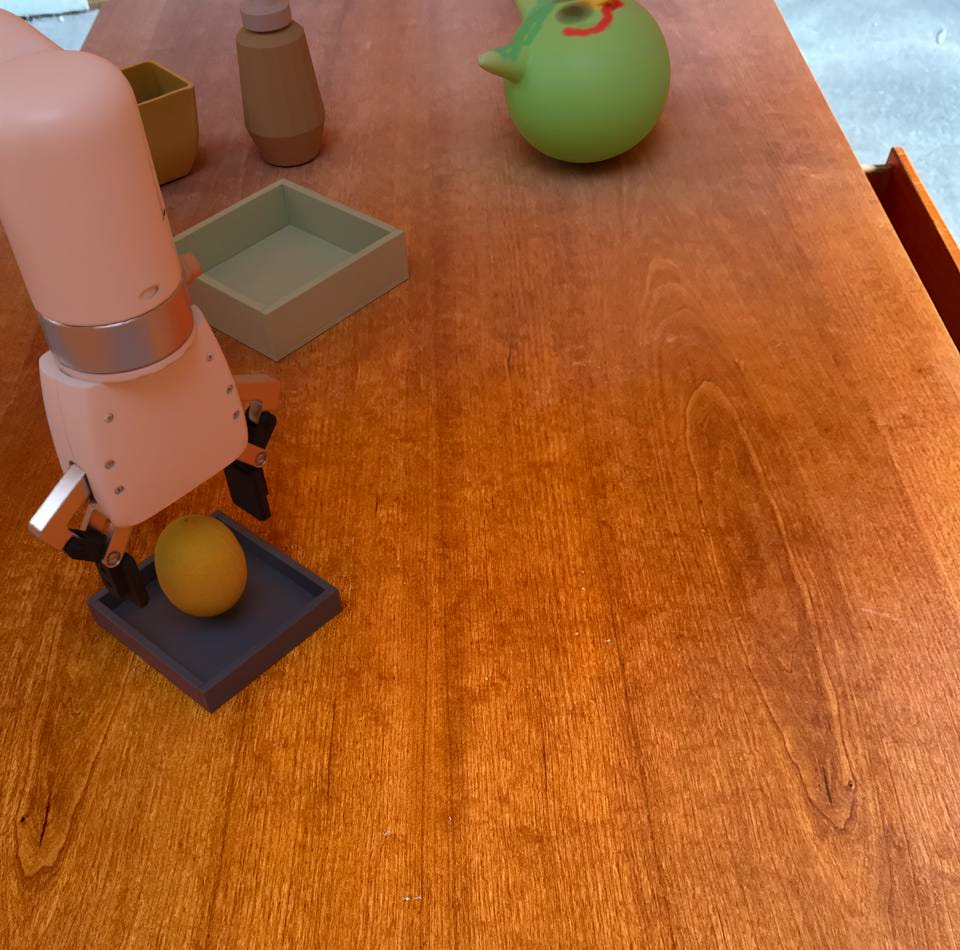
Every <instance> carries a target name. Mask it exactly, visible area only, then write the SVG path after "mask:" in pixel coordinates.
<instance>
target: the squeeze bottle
mask: <svg viewBox="0 0 960 950" xmlns="http://www.w3.org/2000/svg"><path fill="white" fill-rule="evenodd" d="M239 13H240V18H241V23H242V27H241V28H240V29H239V30H238V31H237V33H236V34H235V46H236V56H237V64H238V75H239V83H240V93H241V100H242V101H241V102H242V110H243V121H244V127H245V129H246V131H247V132H248V134H249V136H250V137H251V139H252V141H253V142H254V145H255V147H256V148H257V150H258V152H259V154H260V155H261V157H262V159H263V160H264V161H265V162H266V163H268V164H271V165H273V166H278V167H291V166H298V165H302V164H304V163H309V161H311V160H313V159H315V158H316V157H317V156H318V155H319V154H320V152H321V148H322V147H321V146H322V140H323V134H324V128H325V127H324V126H325V121H326V109H325V106H324V102H323V98H322V95H321V91H320V87H319V83H318V79H317V75H316V71H315V67H314V63H313V59H312V55H311V51H310V47H309V45H308V40H307V36H306V32H305V28H304V26H302V25H301V24H299V22H297V21H296V20H294V19H293V17H292V10H291V4H290V0H244V1H243V2H242V3H241V4H240V5H239Z"/></svg>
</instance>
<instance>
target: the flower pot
mask: <svg viewBox="0 0 960 950" xmlns="http://www.w3.org/2000/svg"><path fill="white" fill-rule="evenodd" d="M119 69H120V70H121V72H122V73H123V74H124V76H125V77H126V79H127V80H128V81H129V83H130V85H131V87H132V89H133V92H134V95H135V98H136V101H137V105H138V108H139V112H140V116H141V119H142V123H143V127H144V131H145V134H146V138H147V142H148V145H149V149H150V153H151V157H152V160H153V164H154V168H155V172H156V175H157V179H158V183H159V186H162V185H164V184H166V183H168V182H171V181H174V180H177V179H180V178H182V177H184V176H187V175H189V173H190V172H191V170H192V168H193V166H194V163H195V160H196V157H197V154H198V149H199V148H198V147H199V140H200V130H199V117H198V108H197V107H198V106H197V97H196V89H195V88H196V87H195V86H196V85H195V84H194V82H192V81H190V80H188V79H187V78H185V77H183V76H181V75H180V74H178V73H177V72H175V71H173V70H171V69H169V68H168V67H167V66H165V65H163V64H161V63H160V62H158V61H156V60H155V59H152V58H149V59H145V60H141V61H139V62H135V63H131V64H129V65H127V66H123V67H120V68H119Z"/></svg>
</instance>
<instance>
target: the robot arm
mask: <svg viewBox="0 0 960 950" xmlns="http://www.w3.org/2000/svg"><path fill="white" fill-rule="evenodd" d="M160 186H161V185H159V183H158V179H157V175H156V172H155V168H154V164H153V160H152V157H151V153H150V149H149V145H148V142H147V138H146V134H145V131H144V127H143V123H142V119H141V116H140V112H139V108H138V105H137V101H136V98H135V95H134V92H133V89H132V87H131V85H130V83H129V81H128V80H127V79H126V77H125V76H124V74H123V73H122V72H121V70H120V68H119V67H117V65H116V64H114V63H113V62H111V61H110V60H109V59H106V58H104V57H102V56H100V55H97V54H95V53H92V52H89V51H88V52H87V51H82V50H75V49H64V48H62V46H60V45H58V44H57V43H56V42H54V41H53V40H52V39H50V38H49V37H48V36H46V35H45V34H43V33H42V32H41V31H40V30H39V29H37V28H36V27H35V26H33V25H32V24H30V23H29V22H28V21H26V20H25V19H23V18H22V17H20V16H19V15H17V14H16V13H13V12H11V11H8V10H6V9H4V8H1V7H0V222H1V224H2V228H3V230H4V232H5V235H6V237H7V240H8V243H9V245H10V248H11V251H12V253H13V257H14V258H15V262H16V264H17V267H18V270H19V272H20V274H21V277H22V280H23V282H24V283H23V284H24V285H25V288H26V290H27V293H28V295H29V298H30V300H31V303H32V306H33V309H34V312H35V315H36V317H37V319H38V322H39V324H40V327H41V330H42V332H43V335H44V337H45V340H46V343H47V345H48V348H49V350H47V351H46V352H44V353H43V354H42V355H40V356H39V358H38V359H39V360H38V370H39V380H40V387H41V388H40V389H41V393H42V400H43V406H44V410H45V415H46V420H47V423H48V424H47V425H48V427H49V431H50V434H51V435H50V436H51V438H52V442H53V446H54V449H55V453H56V455H57V459H58V461H59V465H60V468H61V471H62V474H63V475H62V476H61V478H60V479H59V481H58V482H57V483H56V485H55V486H54V487H53V489H51V491H50V492H49V494H48V495H47V497H46V498H45V499H44V500H43V502H42V504H41V505H40V506H39V507H38V508H37V510H36V511H35V513H34V514H33V516H32V517H31V518H30V520H29V521H28V524H27V530H28V531H29V532H30V533H31V534H33V536H35V537H36V538H37V539H39V540H40V541H41V542H43V543H45V544H46V545H48V546H50V547H51V548H53V549H55V550H57V551H59V552H60V553H63V554H64V555H66V556H68V557H69V558H70V559H71V560H76V561H83V562H88V563H89V562H90V563H94V564H95V567H96V569H97V571H98V574H99V576H100V579H101V581H102V583H103V585H104V587H106V588H107V590H108V591H109V592H110V593H111V594H112V595H113V596H115V597H116V598H117V599H120V598H121V597H123V596H125V597H126V598H127V599H128V600H130V601H131V602H132V603H134V604H135V605H136V606H138V607H139V608H140V609H142V608H143V607H145V606H146V605H148V604H149V603H148V601H149V600H150V598H149V596H148V593H147V590H146V588H145V585H144V583H143V580H142V577H141V575H140V572H139V569H138V567H137V565H138V564H137V561H136V559H135V558H134V557H133V556H132V555H131V554H130V553H128V552H127V551H126V550H127V548H128V547H127V546H128V544H129V541H130V538H131V535H132V533H133V530H134V527H135V526H137V525H139V524H141V523H142V522H145V521H147V520H149V519H150V518H151V517H153V516H155V515H157V514H158V513H159V512H162V511H163V510H164V509H166V508H167V507H170V506H171V505H172V504H173V503H175V502H176V501H178V500H180V499H181V498H183V497H184V496H186V495H187V494H189V493H190V492H192V491H193V490H195V489H196V488H198V487H199V486H201V485H203V484H204V483H205V482H206V481H208V480H209V479H211V478H212V477H214V476H215V475H217V474H218V473H219V472H221V471H223V473H224V477H225V481H226V485H227V488H228V491H229V495H230V499H231V501H232V503H233V504H234V505H235V506H237V507H239V508H240V509H241V510H243V511H244V512H246V513H247V514H249V516H251V517H253V518H255V519H256V520H258V521H259V522H262V521H263V522H266V521H267V520H268V519H270V518H271V517H272V512H271V508H270V503H269V500H268V496H269V495H270V494H269V493H270V492H269V488H268V484H267V480H266V476H265V471H264V466H265V465H266V464H267V462H268V461H269V457H270V454H269V451H268V450H266V448H267V446H268V445H269V442H270V439H271V437H272V436H273V433H274V431H275V428H276V426H277V422H278V419H277V416H276V415H275V412H276V411H277V410H278V407H279V406H278V405H279V401H280V395H281V391H282V383H281V381H280V380H278V379H277V378H275V377H273V376H271V375H270V374H268V373H267V372H253V373H237V374H236V373H235V374H232V371H231V369H230V366H229V364H228V361H227V359H226V356H225V355H224V352H223V349H222V348H221V346H220V344H219V342H218V339H217V338H216V337H217V336H216V335H215V333H214V332H213V330H212V328H211V326H210V325H209V324H208V322H207V320H206V319H205V317H204V315H203V313H202V312H201V310H200V309H199V308H198V307H197V306H196V305H195V304H193V302H192V298H191V294H190V290H189V285H190V284H191V283H192V282H193V279H195V278H197V277H198V276H200V275H201V274H202V268H201V265H200V263H199V261H198V259H197V258H196V257H195V256H194V255H193V254H192V253H190V252H187V253H185V254H183V255H181V256H180V257H179V256H178V254H177V251H176V247H175V243H174V239H173V237H174V236H173V231H172V228H171V225H170V220H169V217H168V213H167V209H166V206H165V202H164V198H163V193H162V190H161V187H160ZM242 402H243V403H244V402H248V404H249V406H248V407H247V408H246V409H245V411H244V408H243V404H242ZM86 502H88V503H87V507H86V510H85V513H84V515H83V520H82V522H81V525H80V528H79V529H77V528H70V527H69V526H70V525H69V524H70V523H71V521H72V520H73V519H74V517H75V516H76V514H77V513H78V512H79V511H80V509H81V508H82V506H83V505H84V504H85V503H86ZM107 521H109V522H110V525H109V527H108V531H107V534H106V533H104V529H105V527H106V524H107Z"/></svg>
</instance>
